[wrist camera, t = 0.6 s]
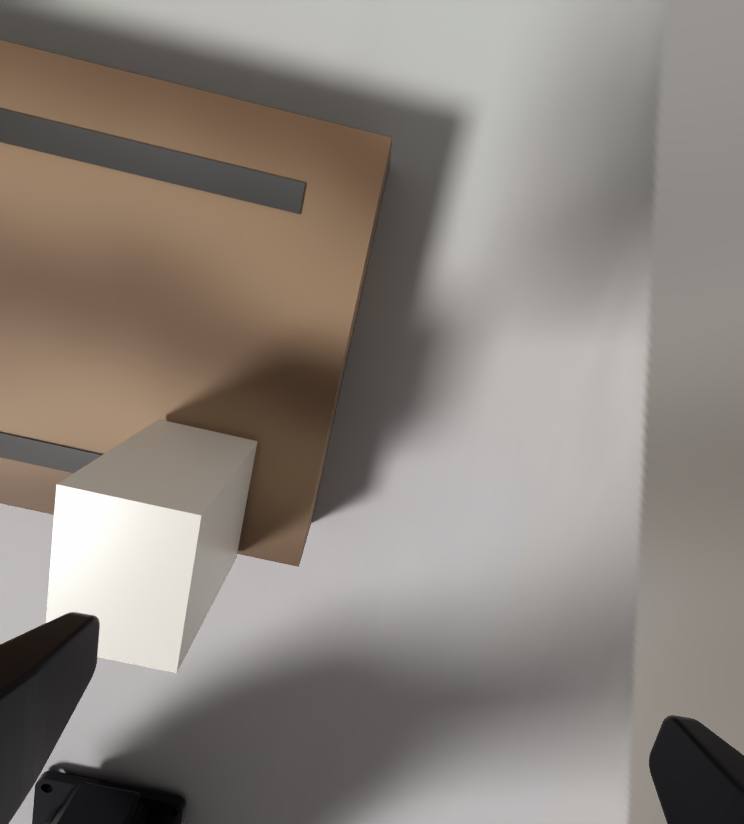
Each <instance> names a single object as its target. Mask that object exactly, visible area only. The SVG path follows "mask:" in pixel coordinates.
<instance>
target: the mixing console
mask: <svg viewBox="0 0 744 824" xmlns="http://www.w3.org/2000/svg"><path fill="white" fill-rule="evenodd" d="M391 142H392V137H388V136H384V135H380V134H376V133H372V132H368V131H364V130H360V129H356V128H352V127H348V126H344V125H340V124H336V123H332V122H328V121H324V120H320V119H316V118H312V117H308V116H304V115H300V114H296V113H292V112H288V111H284V110H280V109H276V108H272V107H268V106H264V105H260V104H256V103H251V102H247V101H243V100H239V99H235V98H231V97H227V96H223V95H219V94H215V93H211V92H207V91H203V90H199V89H195V88H191V87H187V86H183V85H179V84H175V83H171V82H167V81H163V80H159V79H155V78H151V77H147V76H143V75H139V74H135V73H131V72H127V71H123V70H119V69H115V68H111V67H107V66H103V65H99V64H95V63H91V62H87V61H83V60H79V59H75V58H71V57H67V56H63V55H59V54H55V53H51V52H47V51H43V50H39V49H35V48H31V47H27V46H23V45H19V44H15V43H11V42H7V41H3V40H0V503H2V504H6V505H11V506H16V507H21V508H25V509H30V510H35V511H39V512H44V513H49V514H54V509H55V496H56V484H58V483H59V482H61V481H62V480H64V479H66V478H67V477H69V476H70V475H72V474H73V473H75V472H77V471H78V470H80V469H81V468H83V467H84V466H86V465H88V464H89V463H91V462H92V461H94V460H95V459H97V458H99V457H100V456H102V455H103V454H105V453H106V452H108V451H110V450H111V449H113V448H114V447H116V446H117V445H119V444H121V443H122V442H124V441H125V440H127V439H128V438H130V437H132V436H133V435H135V434H136V433H138V432H139V431H141V430H143V429H144V428H146V427H147V426H149V425H150V424H152V423H154V422H155V421H157V420H158V419H160V420H164V421H169V422H173V423H178V424H182V425H187V426H191V427H196V428H200V429H205V430H209V431H214V432H218V433H223V434H227V435H232V436H236V437H241V438H245V439H250V440H254V441H258V442H257V447H256V453H255V458H254V464H253V469H252V475H251V480H250V486H249V491H248V497H247V502H246V508H245V513H244V519H243V524H242V530H241V535H240V541H239V546H238V552H237V554H242V555H246V556H251V557H256V558H261V559H265V560H270V561H275V562H279V563H284V564H289V565H293V566H298V567H299V564H300V560H301V557H302V553H303V550H304V546H305V543H306V539H307V536H308V532H309V529H310V525H311V521H312V516H313V512H314V507H315V503H316V498H317V494H318V489H319V484H320V480H321V475H322V471H323V466H324V462H325V457H326V452H327V448H328V443H329V439H330V434H331V430H332V425H333V420H334V416H335V411H336V407H337V402H338V398H339V393H340V388H341V384H342V379H343V375H344V370H345V365H346V361H347V356H348V352H349V347H350V343H351V338H352V333H353V329H354V324H355V320H356V315H357V311H358V306H359V301H360V297H361V292H362V288H363V283H364V279H365V274H366V269H367V265H368V260H369V256H370V251H371V247H372V242H373V237H374V233H375V228H376V224H377V219H378V215H379V210H380V205H381V201H382V196H383V192H384V187H385V183H386V178H387V173H388V169H389V164H390V155H391Z"/></svg>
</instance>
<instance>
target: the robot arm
mask: <svg viewBox="0 0 744 824" xmlns="http://www.w3.org/2000/svg"><path fill="white" fill-rule="evenodd" d="M99 629H100V622H99V619H98V618H97V617H96V616H95V615H89V614H84V613H78V612H70V613H67V614H64V615H62V616H60V617H58V618H56V619H54V620H52V621H50V622H47V623H45V624H43V625H41V626H39V627H37V628H35V629H33V630H30V631H28V632H26V633H24V634H22V635H20V636H18V637H15V638H13V639H11V640H9V641H7V642H5V643H3V644H1V645H0V824H9V822H10V821H11V819H12V818H13V816H14V815H15V813H16V812H17V810H18V809H19V807H20V806H21V804H22V802H23V801H24V799H25V798H26V796H27V795H28V793H29V791H30V790H31V788H32V787H33V785H34V783H35V782H36V780H37V778H38V776H39V774H40V773H41V771H42V769H43V767H44V766H45V764H46V762H47V760H48V758H49V756H50V754H51V753H52V751H53V749H54V747H55V745H56V743H57V741H58V740H59V738H60V736H61V734H62V732H63V730H64V728H65V727H66V725H67V723H68V721H69V719H70V717H71V715H72V714H73V712H74V710H75V708H76V706H77V704H78V702H79V701H80V699H81V697H82V695H83V693H84V691H85V689H86V688H87V686H88V684H89V682H90V680H91V678H92V676H93V674H94V671H95V668H96V664H97V654H98V642H99ZM649 767H650V772H651V776H652V779H653V782H654V785H655V788H656V791H657V794H658V797H659V800H660V803H661V806H662V809H663V812H664V815H665V817H666V821H667V823H668V824H744V755H742V754H741V753H739V752H738V751H737V750H736V749H734V748H733V747H732V746H730V745H729V744H728V743H726V742H725V741H724V740H722V739H721V738H720V737H719V736H717V735H716V734H715V733H713V732H712V731H711V730H709V729H708V728H707V727H705V726H704V725H703V724H701V723H700V722H698V721H697V720H695V719H691V718H686V717H680V716H674V715H671V716H668V717H667V718H665V719H664V721H663V723H662V725H661V728H660V730H659V733H658V735H657V738H656V740H655V743H654V745H653V748H652V750H651V753H650V758H649ZM185 810H186V801H185V799H184V798H183V797H181V796H179V795H176V794H171V793H165V792H160V791H155V790H150V789H145V788H139V787H134V786H129V785H124V784H118V783H113V782H108V781H103V780H98V779H92V778H87V777H82V776H77V775H72V774H66V773H61V772H56V771H46V772H44V773H43V774H42V775H41V777H40V778H39V780H38V781H37V783H36V785H35V795H34V808H33V821H32V824H183V821H184V815H185Z"/></svg>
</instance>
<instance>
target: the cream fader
mask: <svg viewBox="0 0 744 824" xmlns="http://www.w3.org/2000/svg"><path fill="white" fill-rule="evenodd" d="M257 442H258V441H254V440H250V439H245V438H241V437H236V436H232V435H227V434H223V433H218V432H214V431H209V430H205V429H200V428H196V427H191V426H187V425H182V424H178V423H173V422H169V421H164V420H160V419H158V420H157V421H155V422H154V423H152V424H150V425H149V426H147V427H146V428H144V429H143V430H141V431H139V432H138V433H136V434H135V435H133V436H132V437H130V438H128V439H127V440H125V441H124V442H122V443H121V444H119V445H117V446H116V447H114V448H113V449H111V450H110V451H108V452H106V453H105V454H103V455H102V456H100V457H99V458H97V459H95V460H94V461H92V462H91V463H89V464H88V465H86V466H84V467H83V468H81V469H80V470H78V471H77V472H75V473H73V474H72V475H70V476H69V477H67V478H66V479H64V480H62V481H61V482H59V483H58V484H56V496H55V509H54V522H53V535H52V548H51V561H50V573H49V586H48V599H47V612H46V623H47V622H50V621H52V620H54V619H56V618H58V617H60V616H62V615H64V614H67V613H70V612H78V613H84V614H89V615H95V616H96V617H97V618H98V619H99V622H100V629H99V642H98V654H97V657H99V658H104V659H109V660H114V661H119V662H124V663H129V664H134V665H139V666H144V667H149V668H153V669H158V670H163V671H168V672H173V673H177V671H178V669H179V667H180V665H181V663H182V662H183V660H184V658H185V656H186V654H187V652H188V650H189V648H190V646H191V644H192V642H193V640H194V638H195V636H196V634H197V633H198V631H199V629H200V627H201V625H202V623H203V621H204V619H205V617H206V615H207V613H208V611H209V609H210V607H211V605H212V604H213V602H214V600H215V598H216V596H217V594H218V592H219V590H220V588H221V586H222V584H223V582H224V580H225V578H226V576H227V575H228V573H229V571H230V569H231V567H232V565H233V563H234V561H235V559H236V557H237V552H238V546H239V541H240V535H241V530H242V524H243V519H244V513H245V508H246V502H247V497H248V491H249V486H250V480H251V475H252V469H253V464H254V458H255V453H256V447H257Z"/></svg>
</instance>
